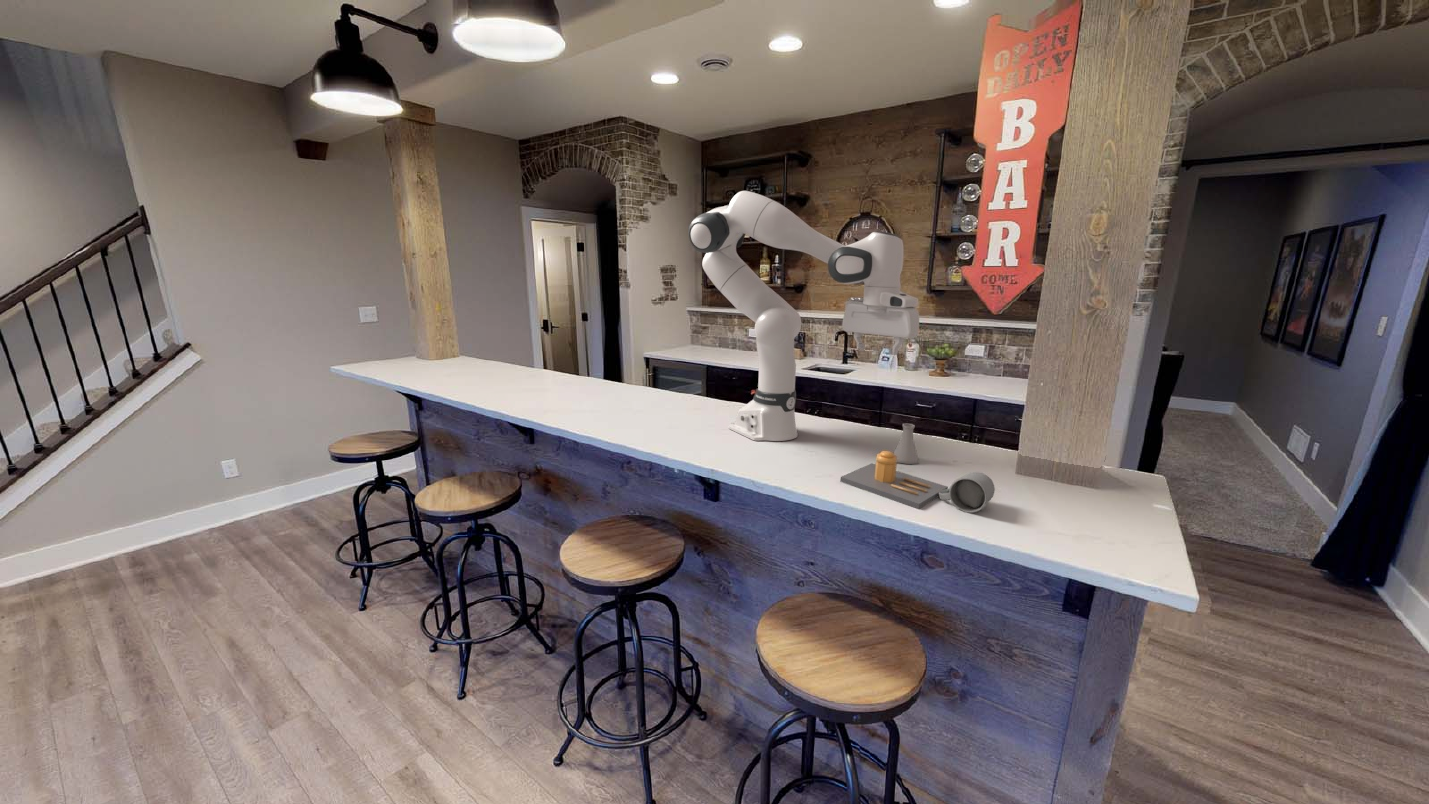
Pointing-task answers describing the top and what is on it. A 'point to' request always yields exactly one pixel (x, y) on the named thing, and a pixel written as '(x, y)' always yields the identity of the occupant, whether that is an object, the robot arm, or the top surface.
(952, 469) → the top surface
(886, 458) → the wire nut
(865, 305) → the robot arm
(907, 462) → the flask
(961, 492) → the ceramic mug
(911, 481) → the plate
